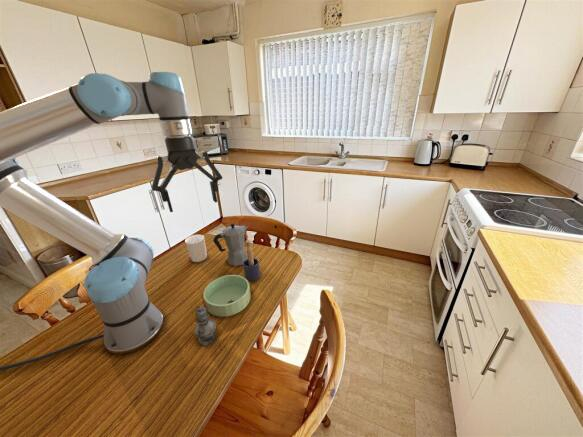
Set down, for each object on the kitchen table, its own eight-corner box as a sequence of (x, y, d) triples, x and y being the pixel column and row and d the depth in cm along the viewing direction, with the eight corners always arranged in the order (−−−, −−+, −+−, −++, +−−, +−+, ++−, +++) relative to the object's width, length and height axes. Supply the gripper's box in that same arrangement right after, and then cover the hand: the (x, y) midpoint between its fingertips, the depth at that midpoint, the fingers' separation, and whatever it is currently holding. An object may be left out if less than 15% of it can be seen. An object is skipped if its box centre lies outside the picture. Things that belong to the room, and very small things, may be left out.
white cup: (212, 256, 108) (208, 237, 104) (197, 265, 102) (192, 245, 98) (200, 251, 112) (196, 232, 108) (186, 260, 106) (181, 240, 102)
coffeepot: (246, 250, 112) (241, 215, 104) (256, 259, 105) (252, 222, 97) (214, 263, 103) (207, 226, 95) (223, 274, 96) (216, 235, 89)
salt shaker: (211, 347, 67) (203, 316, 62) (193, 344, 68) (183, 313, 63) (221, 330, 72) (214, 299, 67) (203, 327, 73) (195, 297, 68)
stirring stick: (251, 278, 92) (246, 243, 86) (249, 275, 94) (244, 240, 87) (256, 276, 93) (252, 241, 87) (254, 273, 95) (249, 239, 88)
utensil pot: (248, 284, 90) (246, 269, 87) (242, 275, 95) (240, 261, 92) (262, 278, 93) (261, 263, 90) (256, 270, 98) (254, 256, 95)
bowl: (212, 325, 74) (209, 313, 71) (201, 295, 85) (198, 284, 83) (257, 304, 81) (256, 293, 78) (241, 280, 92) (240, 269, 90)
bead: (228, 309, 79) (228, 305, 77) (227, 303, 80) (226, 299, 79) (235, 307, 79) (235, 303, 78) (234, 301, 81) (233, 297, 80)
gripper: (126, 141, 59) (151, 219, 68) (225, 133, 70) (235, 200, 79) (127, 139, 64) (149, 211, 73) (218, 131, 76) (228, 194, 85)
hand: (194, 205), depth 76 cm, fingers open, 13 cm apart
